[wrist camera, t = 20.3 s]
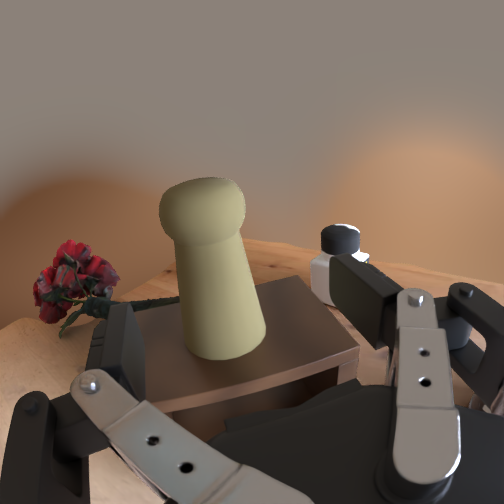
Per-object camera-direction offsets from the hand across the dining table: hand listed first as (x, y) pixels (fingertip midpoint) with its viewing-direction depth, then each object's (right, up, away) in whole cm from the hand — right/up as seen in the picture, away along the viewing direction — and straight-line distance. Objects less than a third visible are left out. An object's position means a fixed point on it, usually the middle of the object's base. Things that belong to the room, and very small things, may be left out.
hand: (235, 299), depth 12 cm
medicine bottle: (+15, -6, +40) cm, 43 cm away
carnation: (-21, -11, +38) cm, 44 cm away
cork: (-1, -4, +11) cm, 12 cm away
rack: (0, -18, +17) cm, 24 cm away
